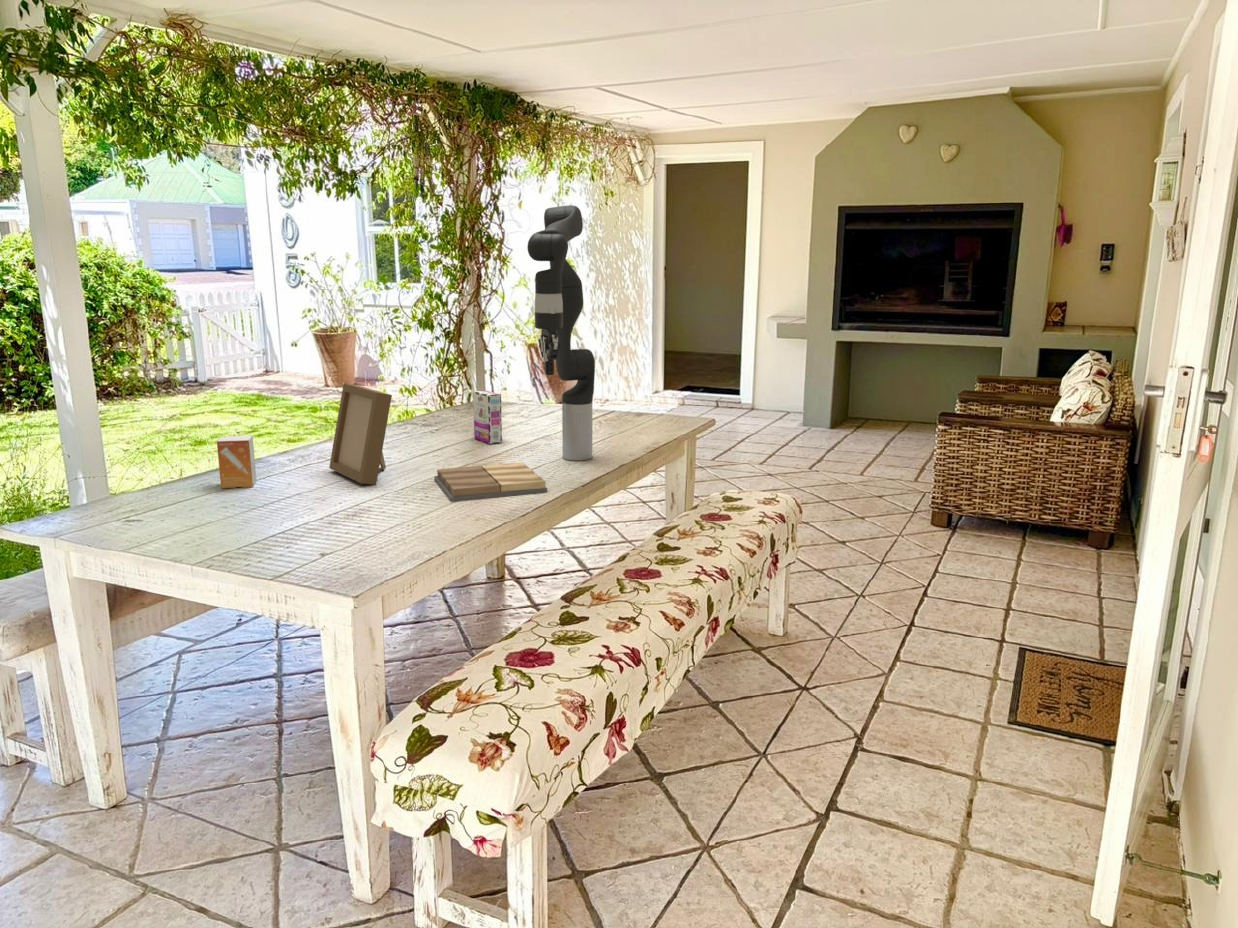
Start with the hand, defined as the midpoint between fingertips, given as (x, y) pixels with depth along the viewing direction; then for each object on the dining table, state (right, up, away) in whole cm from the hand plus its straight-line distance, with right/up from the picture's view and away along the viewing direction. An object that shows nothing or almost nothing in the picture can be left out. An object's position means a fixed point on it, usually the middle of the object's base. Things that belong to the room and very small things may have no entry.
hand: (549, 374), depth 237 cm
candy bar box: (-25, -17, +53) cm, 61 cm away
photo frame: (-51, -28, +8) cm, 59 cm away
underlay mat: (-16, -30, -2) cm, 34 cm away
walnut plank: (-21, -31, -5) cm, 38 cm away
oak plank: (-10, -29, 0) cm, 30 cm away
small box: (-83, -30, -4) cm, 89 cm away
